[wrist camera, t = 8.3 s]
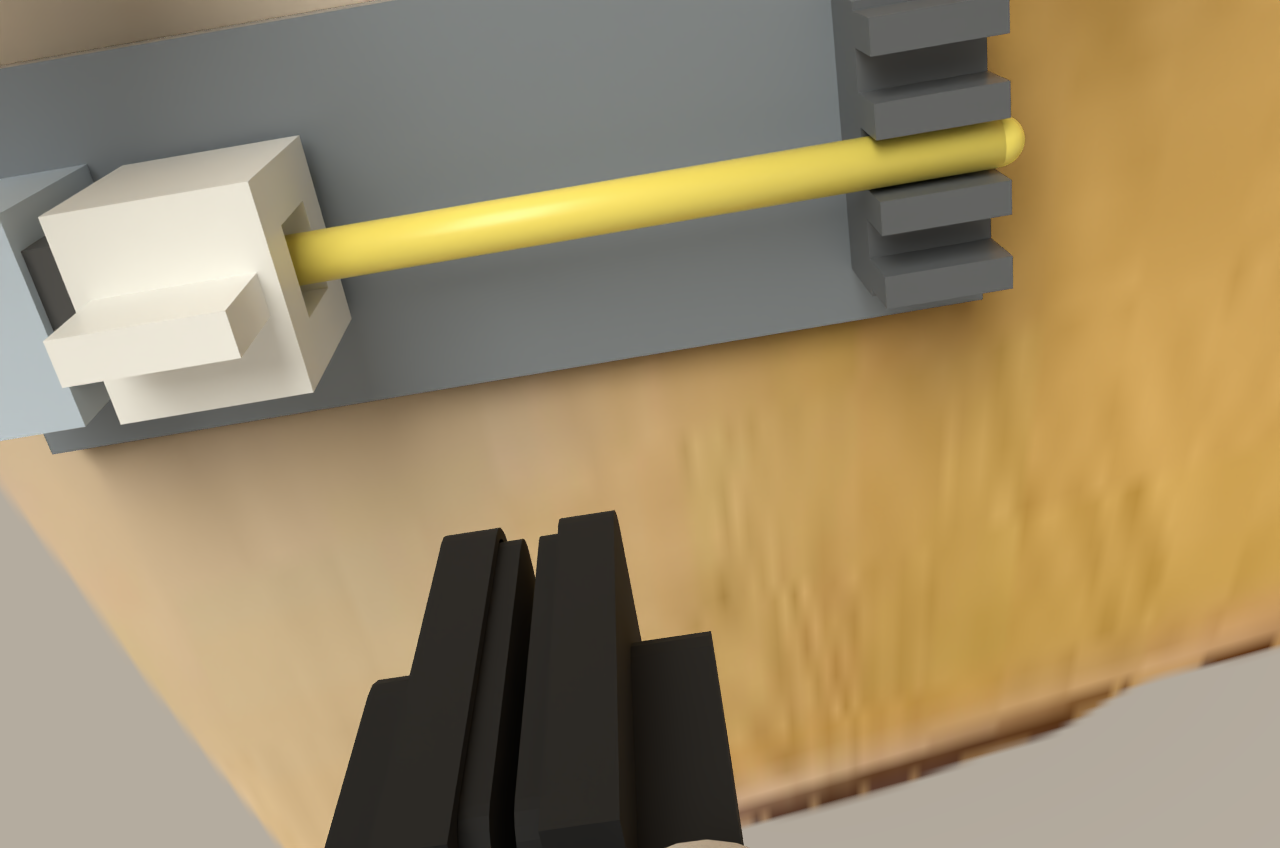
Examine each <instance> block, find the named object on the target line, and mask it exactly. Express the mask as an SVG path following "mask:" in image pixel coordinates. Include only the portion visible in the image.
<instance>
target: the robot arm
mask: <svg viewBox="0 0 1280 848" xmlns="http://www.w3.org/2000/svg"><path fill="white" fill-rule="evenodd" d="M325 848H748V847H745V846H744V844H743V837H742V830H741V823H740V816H739V810H738V803H737V796H736V789H735V783H734V776H733V769H732V763H731V756H730V749H729V743H728V736H727V730H726V723H725V717H724V711H723V704H722V698H721V691H720V685H719V679H718V672H717V666H716V660H715V654H714V647H713V641H712V635H711V631H709V632H702V633H695V634H688V635H682V636H675V637H668V638H661V639H654V640H648V641H641V636H640V631H639V626H638V621H637V615H636V610H635V605H634V600H633V595H632V589H631V584H630V579H629V574H628V569H627V563H626V558H625V553H624V548H623V543H622V537H621V532H620V527H619V523H618V518H617V515H616V512H615V510H613V511H607V512H600V513H594V514H587V515H581V516H574V517H567V518H561V519H559V524H558V534H553V535H547V536H541V537H540V539H539V547H538V557H537V568H536V579H535V575H534V571H533V566H532V562H531V558H530V554H529V550H528V546H527V544H526V541H525V540H524V539H520V540H514V541H507V539H506V536H505V534H504V532H503V530H502V529H501V528H495V529H489V530H482V531H475V532H469V533H462V534H456V535H449V536H445V537H444V538H443V541H442V544H441V548H440V552H439V556H438V560H437V564H436V568H435V573H434V577H433V581H432V585H431V589H430V593H429V598H428V602H427V606H426V610H425V614H424V618H423V622H422V627H421V631H420V635H419V639H418V643H417V647H416V652H415V656H414V660H413V664H412V668H411V672H410V676H403V677H396V678H390V679H383V680H378V681H377V682H376V683H374V684H373V685H372V688H371V690H370V692H369V695H368V698H367V701H366V705H365V708H364V712H363V715H362V719H361V722H360V726H359V729H358V733H357V736H356V740H355V743H354V747H353V750H352V754H351V757H350V761H349V764H348V768H347V771H346V775H345V778H344V782H343V785H342V789H341V792H340V796H339V799H338V803H337V806H336V809H335V813H334V816H333V820H332V823H331V827H330V830H329V834H328V837H327V841H326V844H325Z"/></svg>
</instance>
